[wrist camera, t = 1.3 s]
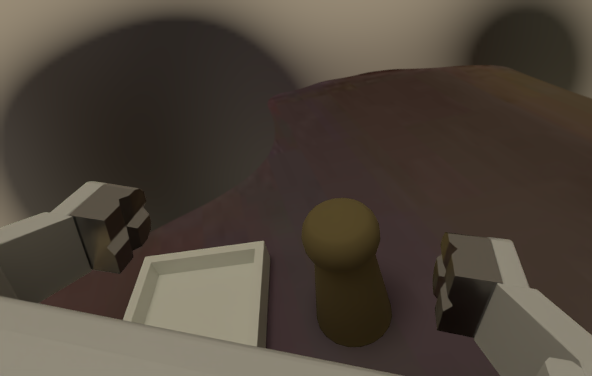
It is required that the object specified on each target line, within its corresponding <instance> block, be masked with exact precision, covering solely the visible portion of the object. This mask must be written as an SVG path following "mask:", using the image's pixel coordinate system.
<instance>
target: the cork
mask: <svg viewBox="0 0 592 376" xmlns="http://www.w3.org/2000/svg"><path fill="white" fill-rule="evenodd" d="M302 242H303V245H304V248H305V251H306V254H307V255H308V256H309V258H310V259H311V260H312V261H313V262H314V263H315V284H316V307H317V320H318V323H319V326H320V329H321V330H322V331H323V333H324V334H325V335H326V337H328V338H329V339H331V340H332V341H334V342H335V343H337V344H340V345H344V346H347V347H361V346H364V345H368V344H371V343H373V342H375V341H376V340H377V339H379V338H380V337H382V336H383V334H384V333H385V332H386V330H387V329H388V327H389V325H390V321H391V317H392V313H391V305H390V301H389V298H388V295H387V292H386V288H385V285H384V282H383V278H382V275H381V272H380V269H379V265H378V262H377V259H376V255H375V254H376V251H377V248H378V245H379V242H380V230H379V223H378V221H377V219H376V217H375V216H374V214H373V212H372V211H371V210H370V209H369V208H367V207H366V206H365V205H364V204H362V203H361V202H359V201H356V200H354V199H347V198H336V199H331V200H328V201H324V202H322V203H321V204H319V205H317V206H315V207H314V208H313V209H312V210H311V211H310V212H309V214H308V215H307V217H306V219H305V221H304V223H303V228H302Z"/></svg>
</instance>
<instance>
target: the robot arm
mask: <svg viewBox="0 0 592 376" xmlns="http://www.w3.org/2000/svg"><path fill="white" fill-rule="evenodd" d="M145 203H146V198H145V195H144V192H143V191H142V190H141V189H138V188H132V187H126V186H120V185H114V184H106V183H101V182H94V181H92V182H86V183H85V184H84V185H83V186H82V187H80V188H79V189H78V190H77V191H76V192H74V193H73V194H72V195H71V196H70V197H69V198H67V199H66V200H65V201H64V202H62V203H61V204H60V205H59V206H58V207H56V208H55V209H54V210H53V211H52V212H50V213H47V212H44V213H41V214H39V215H35V216H32V217H30V218H27V219H24V220H21V221H18V222H15V223H13V224H10V225H7V226H4V227H1V228H0V376H403V375H397V374H392V373H387V372H382V371H377V370H372V369H367V368H362V367H357V366H352V365H347V364H342V363H337V362H332V361H327V360H322V359H317V358H312V357H307V356H302V355H297V354H292V353H287V352H282V351H277V350H272V349H267V348H262V347H257V346H251V345H246V344H241V343H236V342H231V341H226V340H221V339H216V338H211V337H206V336H201V335H196V334H191V333H186V332H181V331H175V330H170V329H165V328H160V327H155V326H150V325H145V324H140V323H135V322H130V321H125V320H120V319H115V318H110V317H105V316H100V315H94V314H89V313H84V312H79V311H74V310H69V309H64V308H59V307H54V306H49V305H44V304H39V302H41V301H43V300H44V299H46V298H48V297H49V296H51V295H53V294H54V293H56V292H58V291H59V290H61V289H63V288H64V287H66V286H68V285H69V284H71V283H72V282H74V281H76V280H77V279H79V278H81V277H82V276H84V275H86V274H87V273H89V272H91V271H92V270H98V271H105V272H112V273H118V274H120V273H121V272H122V271H123V270H124V268H125V267H126V266H127V265H128V263H129V262H130V261H131V260H132V258H133V250H135V249H137V248H139V247H141V246H143V244H144V243H145V241H146V240H147V238H148V235H149V233H150V230H151V220H150V215H149V214H148V213H147V211H146V210H145V209H144V208H143V206H144V204H145ZM441 252H442V255H440V256H439V257H437V259H436V263H435V267H434V274H433V294H434V296H435V297H436V298H437V303H436V306H435V315H436V324H437V330H438V331H443V332H448V333H453V334H458V335H463V336H467V337H472V338H474V340H475V342H476V343H477V345H478V346H479V347H480V349H481V350H482V351H483V353H484V354H485V355H486V357H487V358H488V360H489V361H490V362H491V364H492V365H493V366H494V368H495V369H496V370H497V372H498V373H499V375H500V376H592V335H590V334H589V333H588V332H587V331H586V330H584V329H583V328H582V327H581V326H580V325H578V324H577V323H576V322H575V321H574V320H573V319H571V318H570V317H569V316H568V315H567V314H565V313H564V312H563V311H562V310H561V309H559V308H558V307H557V306H556V305H555V304H553V303H552V302H551V301H550V300H549V299H547V298H546V297H545V296H544V295H543V294H541V293H540V292H539V291H538V290H537V289H531V288H530V287H529V285H528V282H527V279H526V276H525V274H524V271H523V268H522V266H521V263H520V260H519V258H518V255H517V252H516V250H515V247H514V244H513V242H512V241H511V240H508V239H499V238H491V237H488V238H485V237H478V236H470V235H463V234H456V233H448V232H445V234H444V236H443V238H442V242H441ZM91 269H92V270H91Z"/></svg>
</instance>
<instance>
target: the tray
mask: <svg viewBox="0 0 592 376" xmlns="http://www.w3.org/2000/svg"><path fill="white" fill-rule="evenodd" d="M269 273H270V256H269V253H268V250H267V248H266V245H265V242H264V241H259V242H251V243H244V244H237V245H229V246H222V247H215V248H207V249H200V250H193V251H185V252H178V253H171V254H163V255H156V256H149V257H145V259H144V262H143V265H142V268H141V270H140V273H139V276H138V279H137V282H136V285H135V287H134V290H133V293H132V296H131V299H130V301H129V304H128V307H127V310H126V313H125V316H124V318H123V320H125V321H130V322H135V323H140V324H145V325H150V326H155V327H160V328H165V329H170V330H175V331H181V332H186V333H191V334H196V335H201V336H206V337H211V338H216V339H221V340H226V341H231V342H236V343H241V344H246V345H251V346H257V347H262V348H266V332H267V312H268V293H269Z"/></svg>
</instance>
